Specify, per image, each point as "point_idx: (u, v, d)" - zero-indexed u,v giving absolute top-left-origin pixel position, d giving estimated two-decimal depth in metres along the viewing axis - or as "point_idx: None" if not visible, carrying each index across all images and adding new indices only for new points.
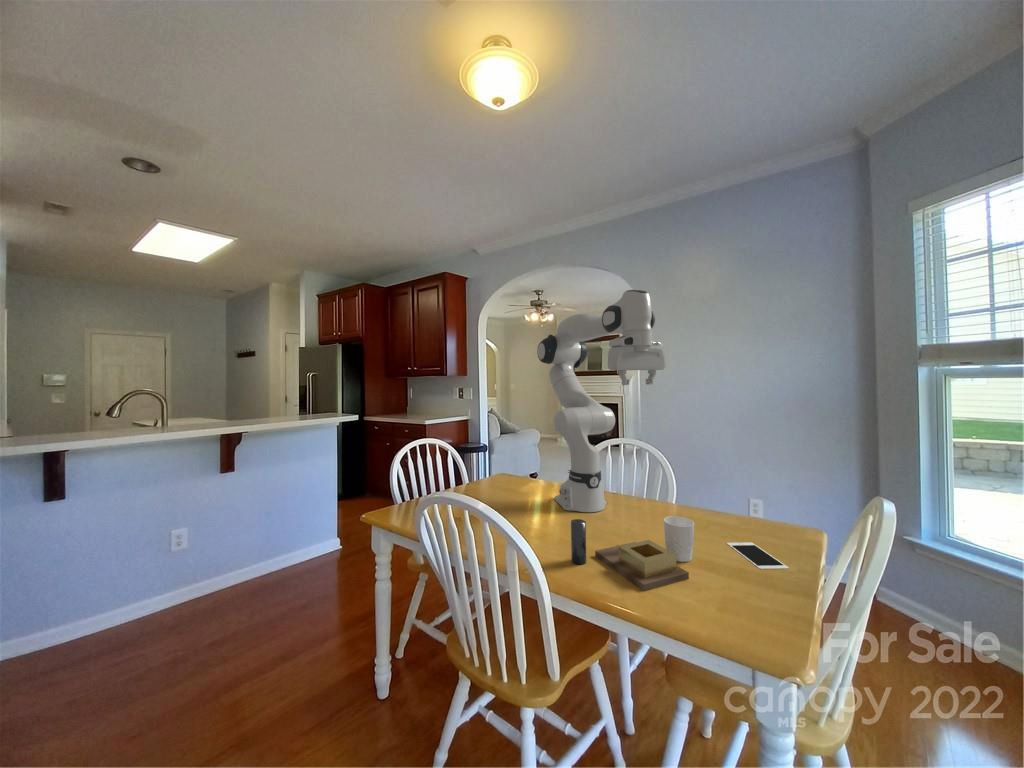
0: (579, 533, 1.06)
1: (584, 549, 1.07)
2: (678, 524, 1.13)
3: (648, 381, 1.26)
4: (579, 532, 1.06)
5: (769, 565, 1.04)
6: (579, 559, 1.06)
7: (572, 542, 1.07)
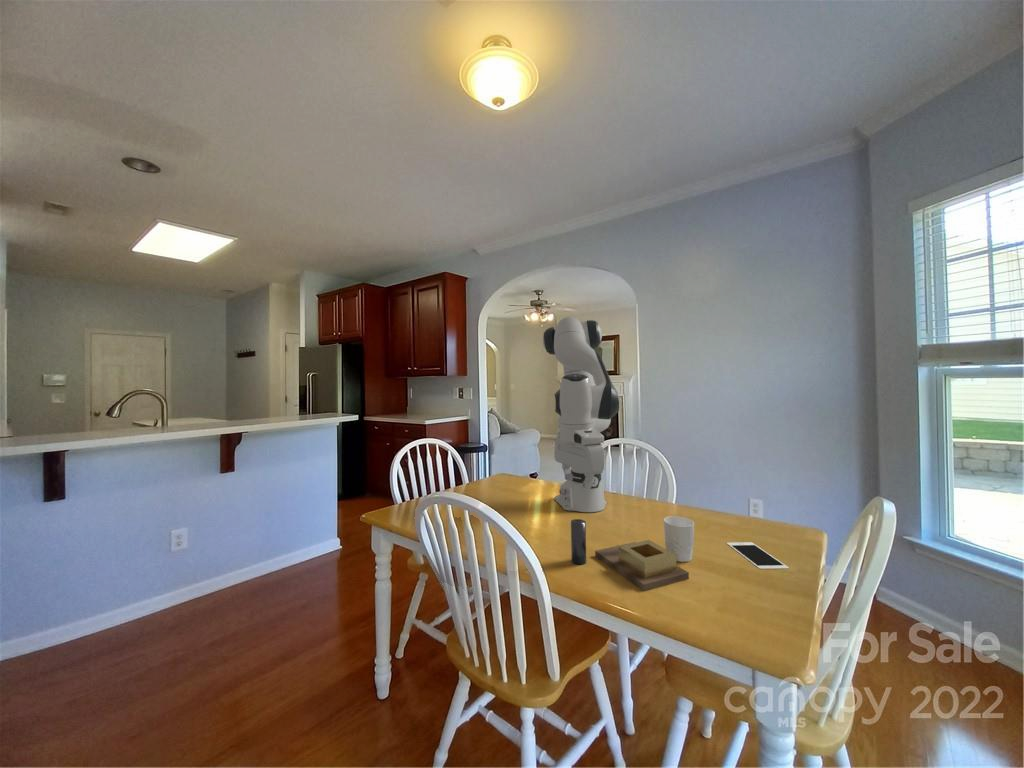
0: (579, 533, 1.06)
1: (584, 549, 1.07)
2: (678, 524, 1.13)
3: (571, 476, 1.12)
4: (579, 532, 1.06)
5: (769, 565, 1.04)
6: (579, 559, 1.06)
7: (572, 542, 1.07)
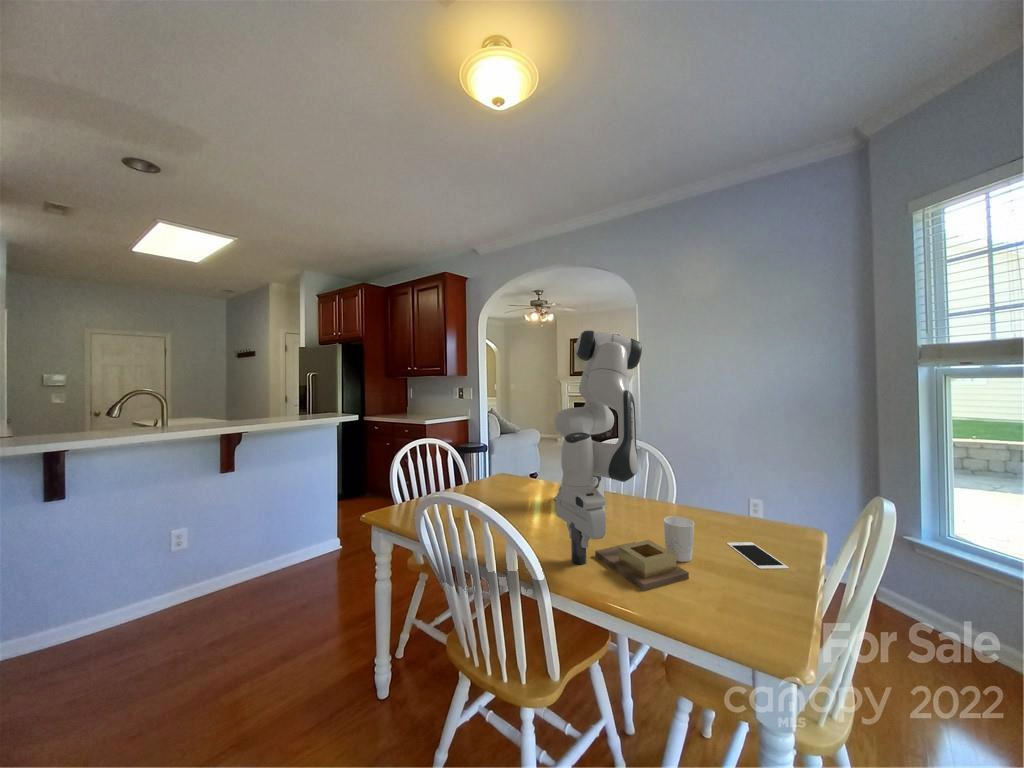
0: (579, 533, 1.06)
1: (584, 549, 1.07)
2: (678, 524, 1.13)
3: None
4: (579, 532, 1.06)
5: (769, 565, 1.04)
6: (579, 558, 1.06)
7: (572, 542, 1.07)
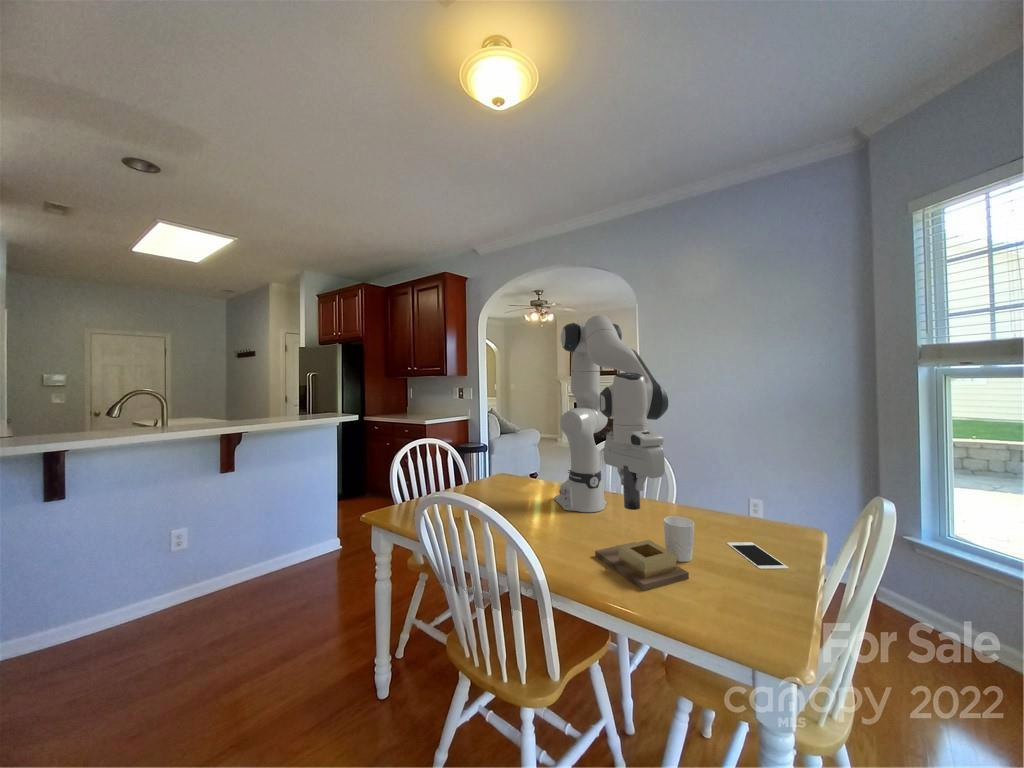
0: (633, 476, 1.01)
1: (638, 493, 1.01)
2: (678, 524, 1.13)
3: None
4: (633, 474, 1.01)
5: (769, 565, 1.04)
6: (633, 503, 1.01)
7: (625, 486, 1.02)
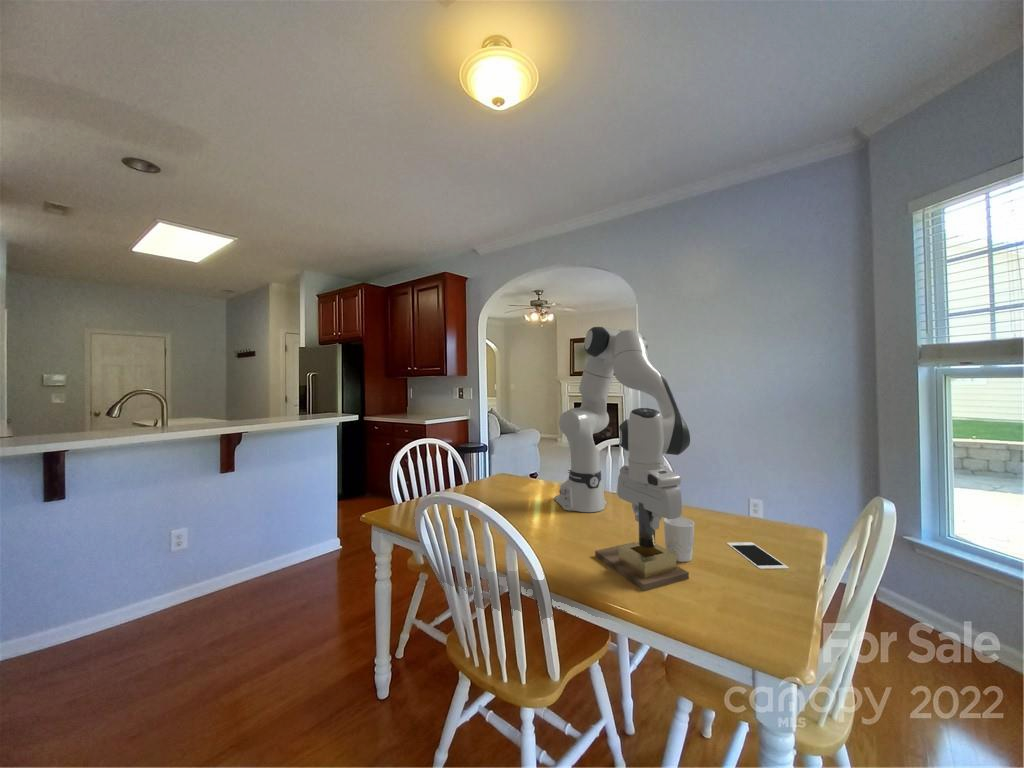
0: (648, 514, 1.00)
1: (654, 531, 1.00)
2: (678, 524, 1.13)
3: None
4: (648, 512, 1.00)
5: (769, 565, 1.04)
6: (649, 541, 1.00)
7: (641, 523, 1.01)
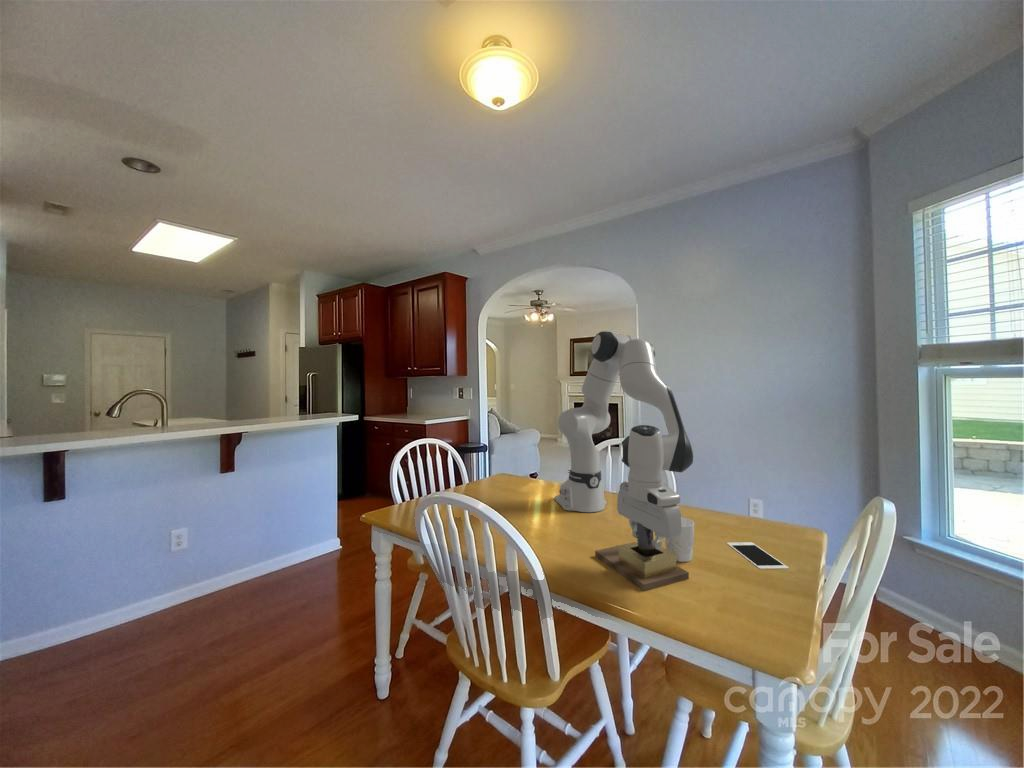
0: (647, 534, 1.00)
1: (653, 552, 1.01)
2: None
3: None
4: (647, 533, 1.00)
5: (769, 565, 1.04)
6: None
7: (640, 544, 1.01)
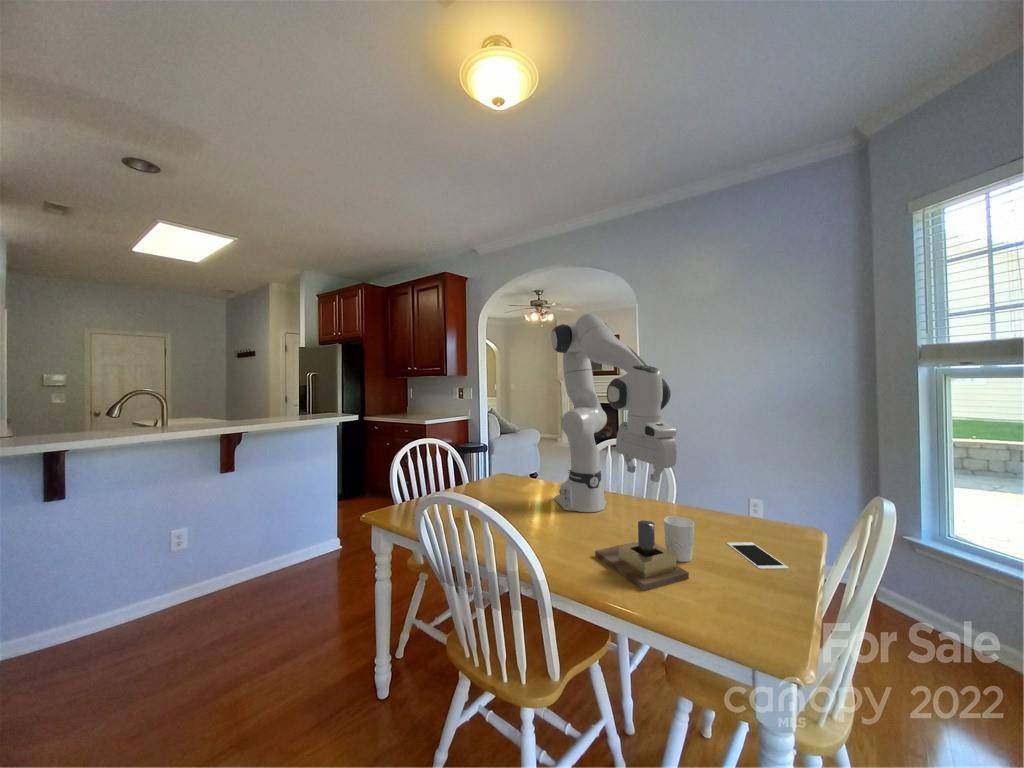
0: (648, 535, 1.00)
1: (653, 552, 1.01)
2: (678, 524, 1.13)
3: (634, 469, 1.11)
4: (648, 534, 1.00)
5: (769, 565, 1.04)
6: None
7: (640, 544, 1.01)
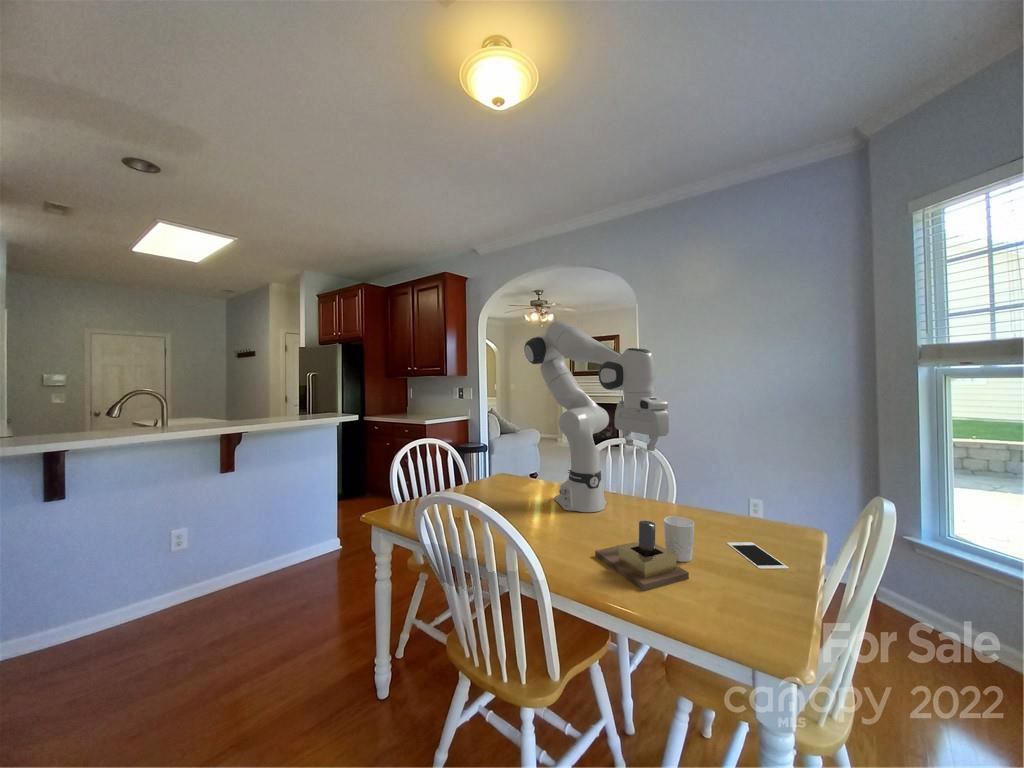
0: (649, 535, 1.00)
1: (654, 552, 1.00)
2: (678, 524, 1.13)
3: (631, 442, 1.22)
4: (649, 534, 1.00)
5: (769, 565, 1.04)
6: None
7: (641, 545, 1.01)
